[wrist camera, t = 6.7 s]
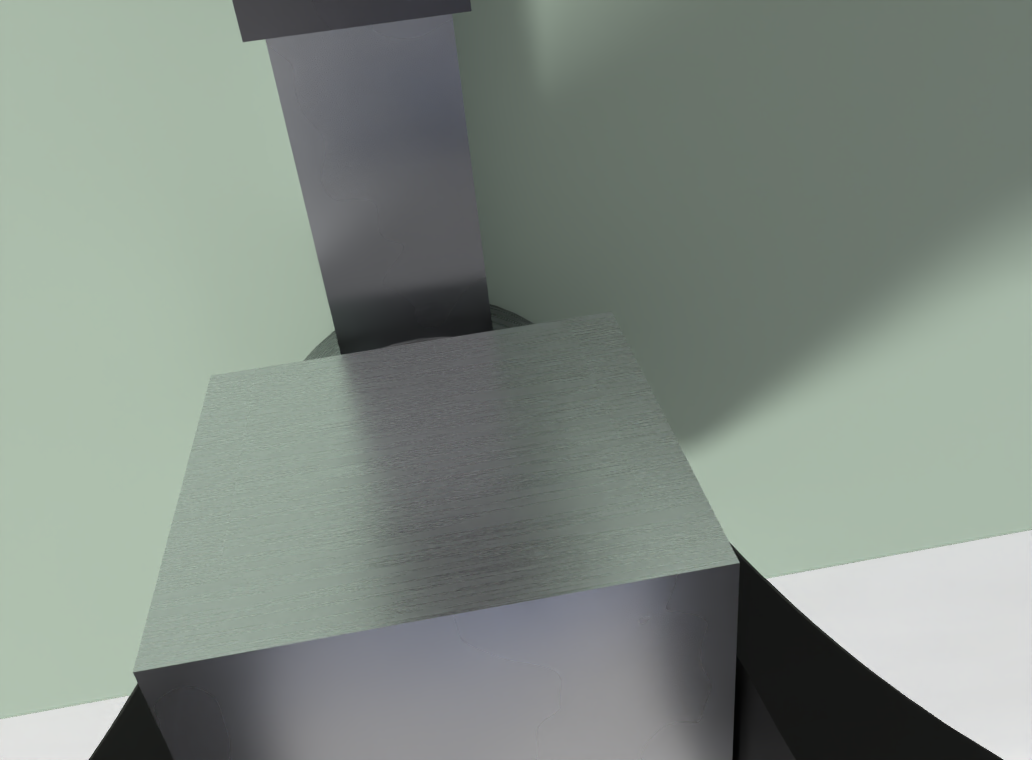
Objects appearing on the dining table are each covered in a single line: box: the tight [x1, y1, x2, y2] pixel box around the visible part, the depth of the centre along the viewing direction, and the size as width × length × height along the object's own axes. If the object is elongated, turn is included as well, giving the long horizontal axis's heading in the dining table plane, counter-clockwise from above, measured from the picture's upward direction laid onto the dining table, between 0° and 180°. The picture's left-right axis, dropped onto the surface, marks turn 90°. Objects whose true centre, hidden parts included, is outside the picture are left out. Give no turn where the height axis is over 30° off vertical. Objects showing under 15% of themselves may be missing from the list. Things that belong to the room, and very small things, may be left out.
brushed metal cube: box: [133, 312, 740, 760], centre depth 12 cm, size 5×5×5 cm
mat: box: [0, 0, 1032, 719], centre depth 13 cm, size 26×22×1 cm
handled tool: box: [232, 0, 534, 361], centre depth 11 cm, size 5×17×4 cm, turn 6°
